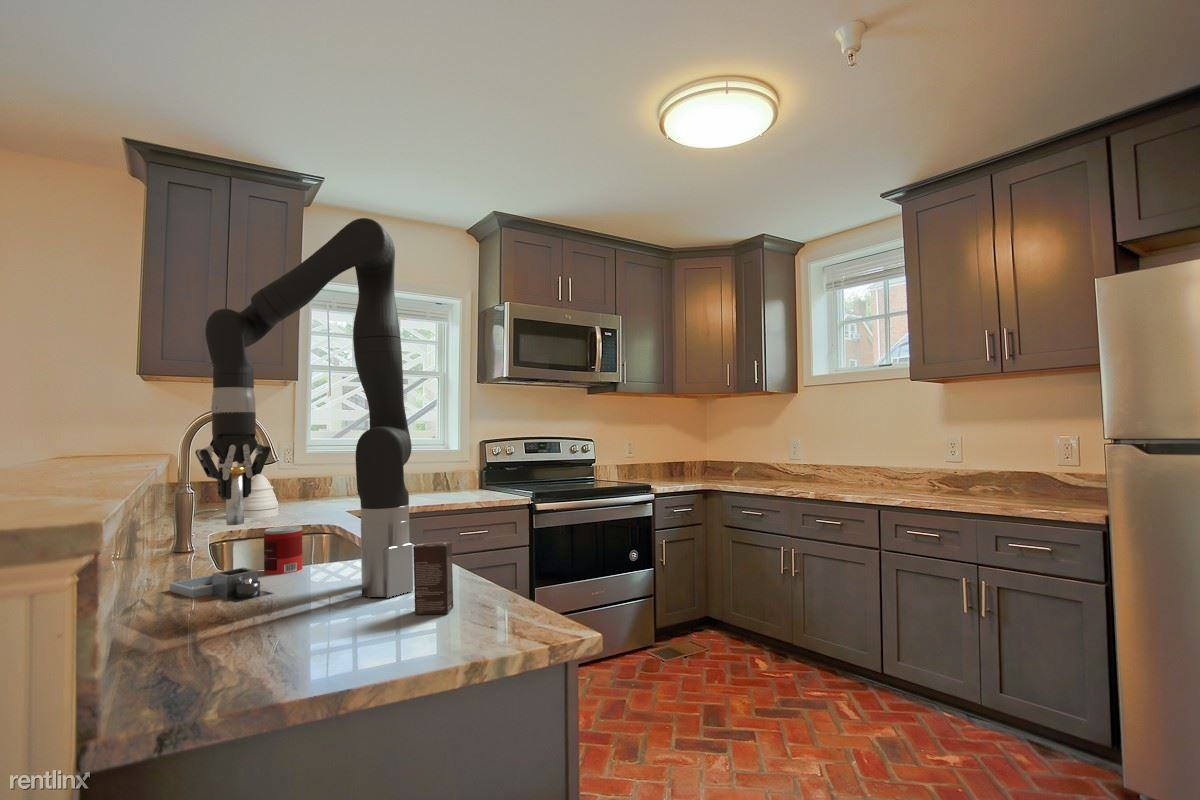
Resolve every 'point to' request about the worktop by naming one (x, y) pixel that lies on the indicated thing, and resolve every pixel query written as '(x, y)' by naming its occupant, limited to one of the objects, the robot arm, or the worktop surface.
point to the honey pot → (261, 499)
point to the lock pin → (235, 497)
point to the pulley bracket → (237, 585)
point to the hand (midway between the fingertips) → (235, 497)
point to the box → (433, 578)
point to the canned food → (282, 550)
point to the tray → (186, 585)
